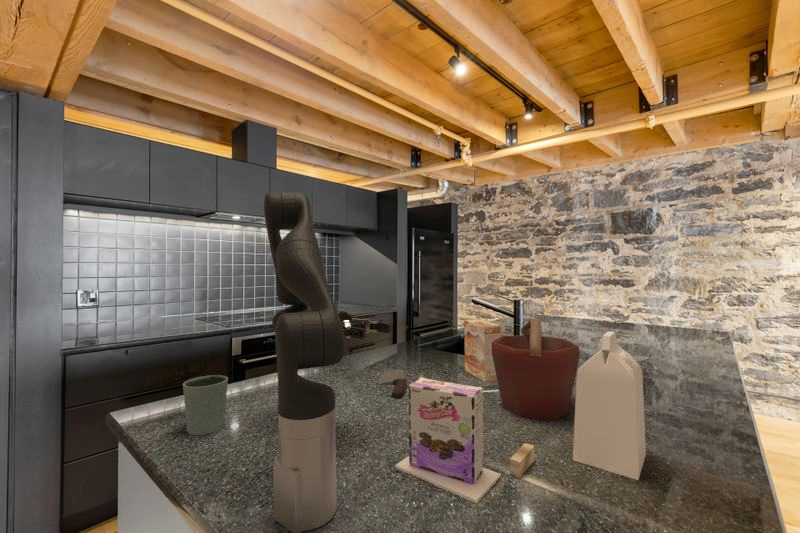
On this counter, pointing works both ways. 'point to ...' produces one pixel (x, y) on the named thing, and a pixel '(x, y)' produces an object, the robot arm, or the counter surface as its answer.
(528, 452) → the block
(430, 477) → the board
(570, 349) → the bucket
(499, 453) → the counter surface
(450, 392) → the candy box
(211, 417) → the green cup
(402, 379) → the cleaver
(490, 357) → the coffeecake box
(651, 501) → the counter surface
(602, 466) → the milk
